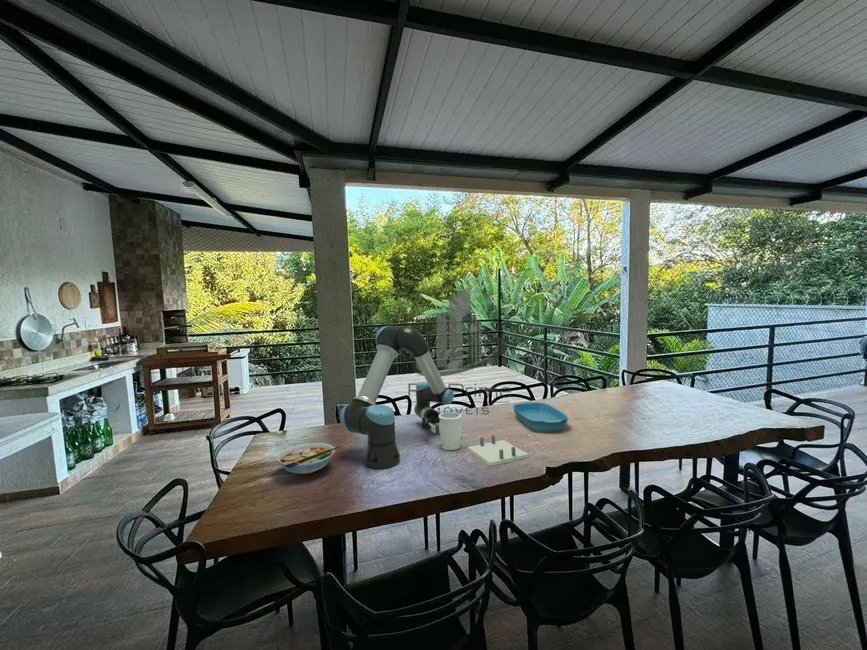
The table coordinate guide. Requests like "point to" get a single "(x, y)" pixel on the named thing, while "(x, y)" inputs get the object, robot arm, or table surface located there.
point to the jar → (450, 430)
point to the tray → (497, 452)
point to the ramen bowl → (306, 457)
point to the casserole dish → (540, 416)
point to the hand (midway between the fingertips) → (447, 427)
